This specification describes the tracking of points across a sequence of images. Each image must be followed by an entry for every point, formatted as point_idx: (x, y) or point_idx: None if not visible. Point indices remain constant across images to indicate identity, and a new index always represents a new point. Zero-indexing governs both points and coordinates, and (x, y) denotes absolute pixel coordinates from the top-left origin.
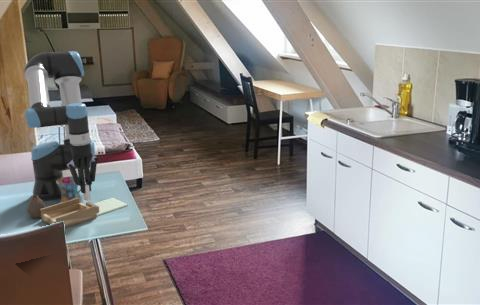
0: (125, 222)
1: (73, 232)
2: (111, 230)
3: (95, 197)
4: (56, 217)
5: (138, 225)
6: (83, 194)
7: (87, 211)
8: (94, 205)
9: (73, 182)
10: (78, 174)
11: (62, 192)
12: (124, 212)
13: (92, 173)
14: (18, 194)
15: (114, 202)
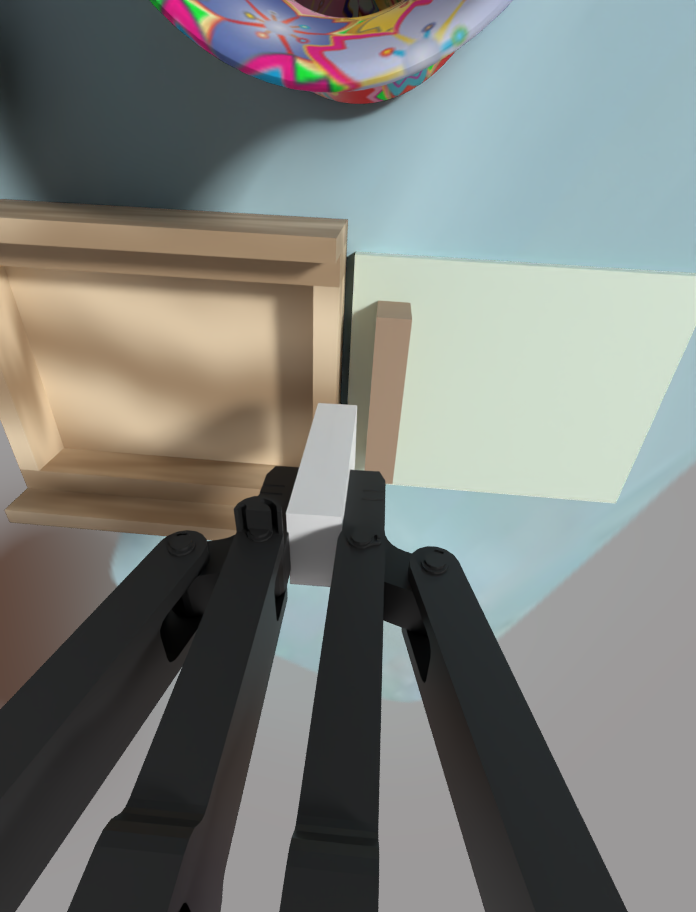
0: (402, 637)
1: (137, 543)
2: (298, 647)
3: (682, 28)
4: (85, 293)
5: (416, 689)
6: (310, 436)
7: None
8: (383, 442)
9: (331, 92)
10: (182, 677)
11: None
12: (501, 555)
13: (434, 727)
14: None
15: (606, 396)
